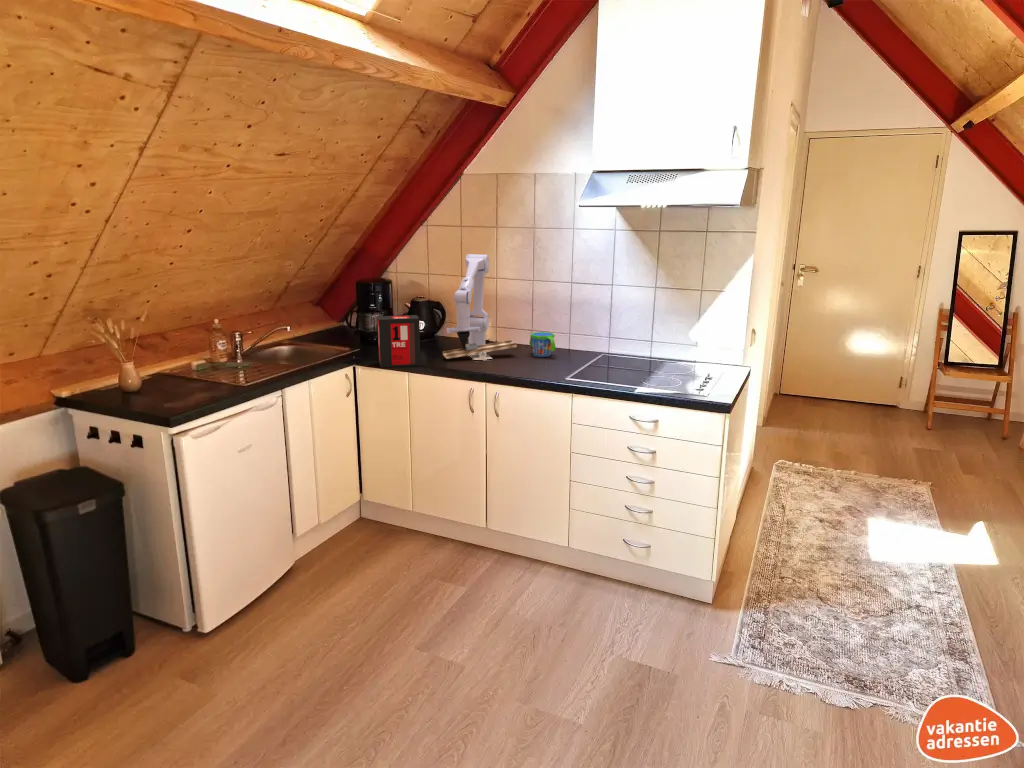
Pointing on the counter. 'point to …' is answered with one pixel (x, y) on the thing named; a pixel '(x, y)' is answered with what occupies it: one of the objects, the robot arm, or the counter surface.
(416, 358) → the cleaning product box
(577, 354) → the counter surface
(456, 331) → the robot arm
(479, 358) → the fulcrum stand
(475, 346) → the steel block
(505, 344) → the beam
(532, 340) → the snack cup
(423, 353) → the counter surface
